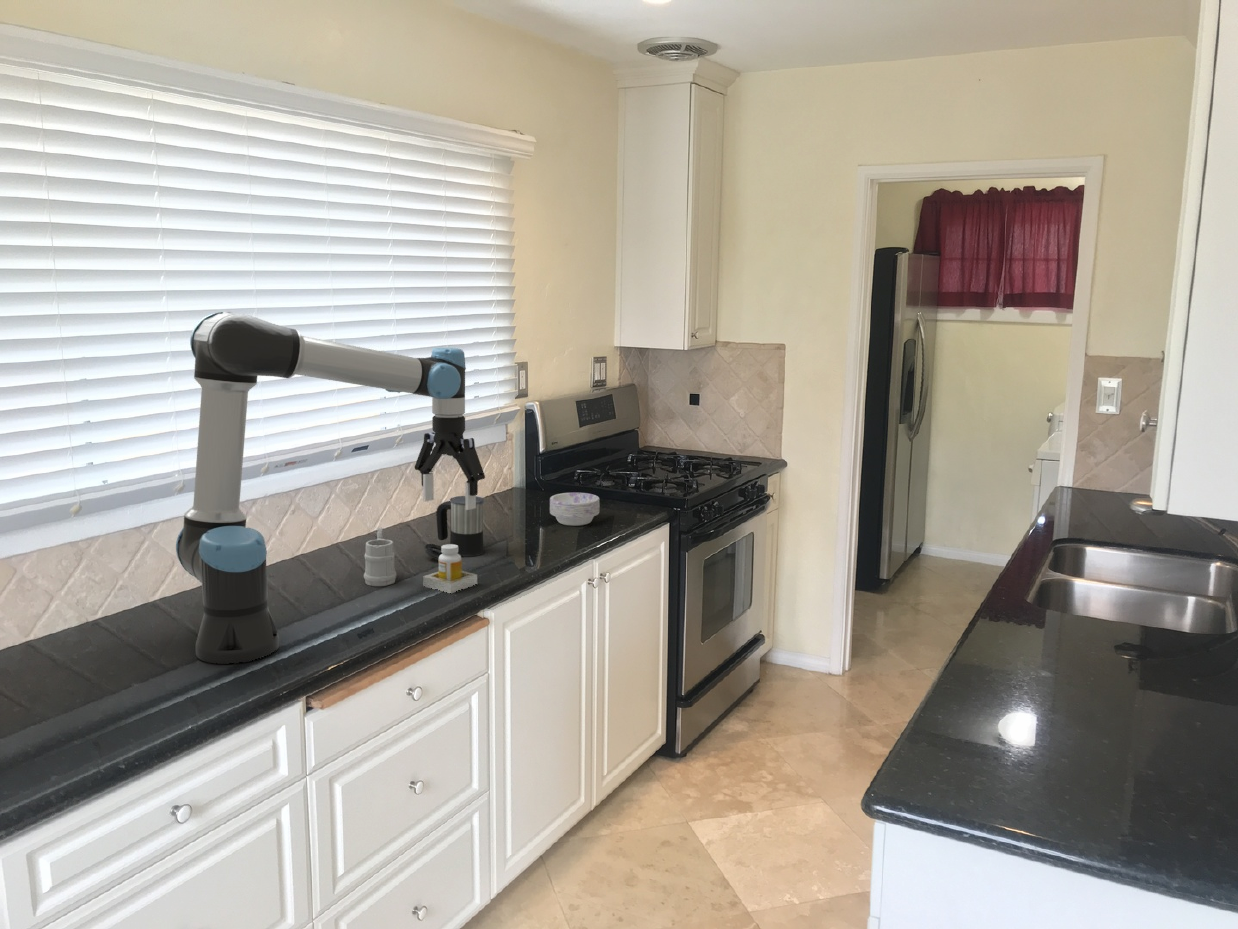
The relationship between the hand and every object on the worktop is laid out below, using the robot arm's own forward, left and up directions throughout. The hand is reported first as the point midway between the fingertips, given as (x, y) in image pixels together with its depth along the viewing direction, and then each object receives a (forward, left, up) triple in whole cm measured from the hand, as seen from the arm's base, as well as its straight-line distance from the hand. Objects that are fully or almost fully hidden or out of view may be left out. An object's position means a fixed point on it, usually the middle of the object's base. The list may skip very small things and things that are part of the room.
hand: (449, 504), depth 226 cm
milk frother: (+20, +17, -20) cm, 33 cm away
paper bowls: (+69, +14, -20) cm, 73 cm away
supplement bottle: (0, 0, -20) cm, 20 cm away
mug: (-7, +16, -20) cm, 27 cm away
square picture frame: (0, 0, -20) cm, 20 cm away
